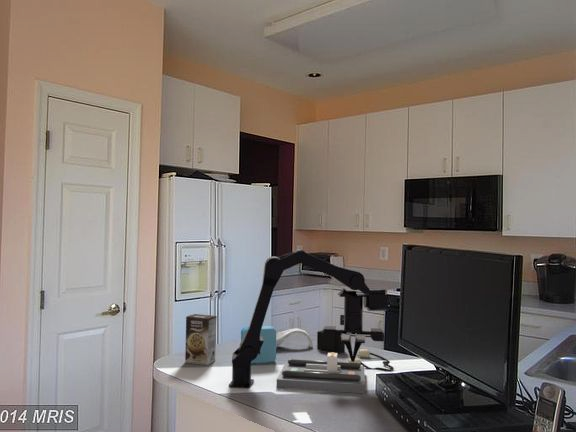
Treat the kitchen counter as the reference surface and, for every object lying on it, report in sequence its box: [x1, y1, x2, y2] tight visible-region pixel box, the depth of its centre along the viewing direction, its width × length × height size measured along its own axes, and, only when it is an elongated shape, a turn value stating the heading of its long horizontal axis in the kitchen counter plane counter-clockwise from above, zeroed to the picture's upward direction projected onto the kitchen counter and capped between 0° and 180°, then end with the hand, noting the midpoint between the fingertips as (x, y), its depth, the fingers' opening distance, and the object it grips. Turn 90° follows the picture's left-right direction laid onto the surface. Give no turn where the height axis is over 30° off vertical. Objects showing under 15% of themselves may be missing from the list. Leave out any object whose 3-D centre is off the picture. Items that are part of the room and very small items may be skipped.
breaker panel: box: [276, 358, 366, 394], centre depth 146 cm, size 18×26×4 cm
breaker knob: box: [326, 352, 339, 371], centre depth 145 cm, size 4×3×6 cm
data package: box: [240, 325, 277, 365], centre depth 165 cm, size 12×4×12 cm, turn 106°
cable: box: [347, 348, 395, 372], centre depth 165 cm, size 16×16×4 cm
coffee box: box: [184, 313, 217, 366], centre depth 164 cm, size 9×6×16 cm
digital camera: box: [316, 329, 346, 355], centre depth 181 cm, size 10×5×7 cm, turn 48°
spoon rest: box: [276, 327, 314, 349], centre depth 186 cm, size 24×12×7 cm, turn 98°
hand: (352, 361), depth 145 cm, fingers closed
